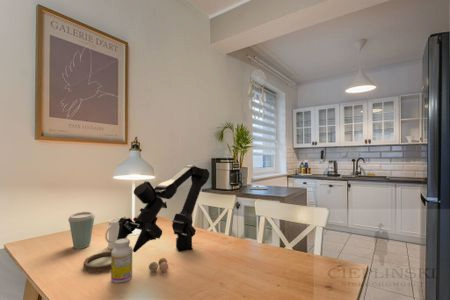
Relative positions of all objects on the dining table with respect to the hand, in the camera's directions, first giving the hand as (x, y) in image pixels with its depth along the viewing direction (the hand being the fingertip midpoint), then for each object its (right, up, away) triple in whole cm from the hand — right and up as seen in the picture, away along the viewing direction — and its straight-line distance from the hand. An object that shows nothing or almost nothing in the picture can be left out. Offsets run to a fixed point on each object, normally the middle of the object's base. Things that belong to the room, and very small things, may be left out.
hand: (125, 248), depth 82 cm
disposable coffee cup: (-32, -11, +28) cm, 44 cm away
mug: (-16, -11, +27) cm, 33 cm away
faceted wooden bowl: (-12, -10, +10) cm, 18 cm away
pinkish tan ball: (+12, -8, +4) cm, 15 cm away
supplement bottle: (-1, -10, -1) cm, 10 cm away
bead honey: (+11, -8, +8) cm, 16 cm away
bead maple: (+9, -8, +4) cm, 13 cm away
